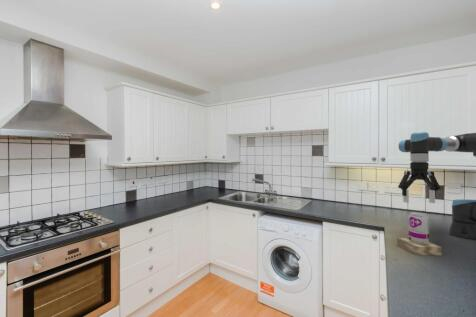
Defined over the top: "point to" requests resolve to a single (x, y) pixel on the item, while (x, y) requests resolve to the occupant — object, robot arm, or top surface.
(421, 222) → the supplement can
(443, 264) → the top surface
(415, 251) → the oak base
